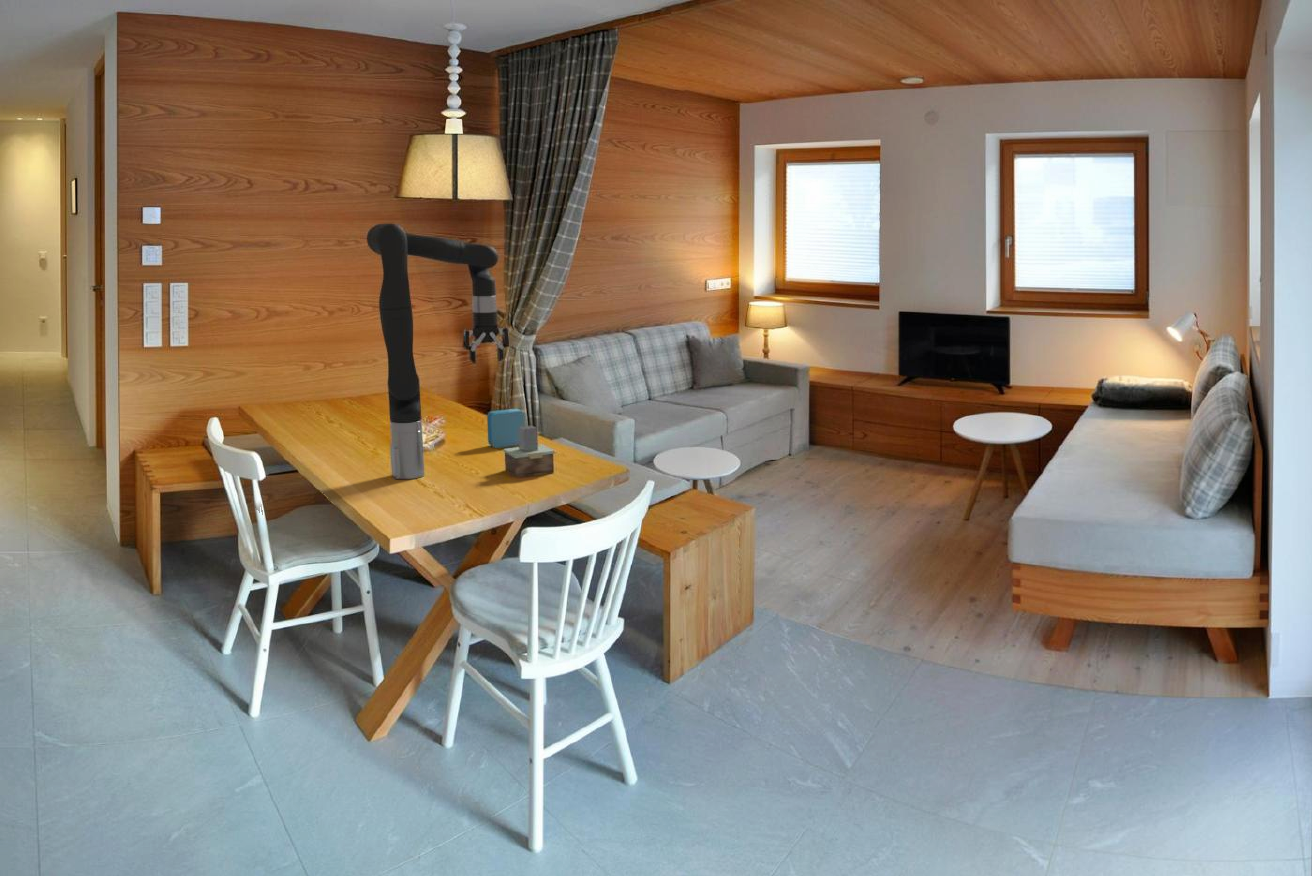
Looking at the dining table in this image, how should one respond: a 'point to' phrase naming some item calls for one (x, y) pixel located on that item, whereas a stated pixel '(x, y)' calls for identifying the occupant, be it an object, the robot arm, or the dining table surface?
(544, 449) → the box lid
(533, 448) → the block
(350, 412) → the dining table surface
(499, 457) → the dining table surface
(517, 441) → the data package
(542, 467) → the walnut box
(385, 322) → the robot arm
